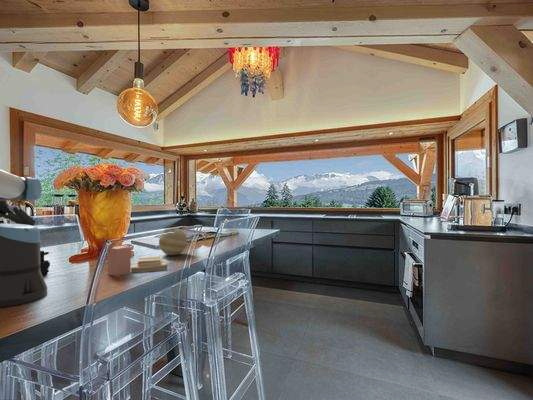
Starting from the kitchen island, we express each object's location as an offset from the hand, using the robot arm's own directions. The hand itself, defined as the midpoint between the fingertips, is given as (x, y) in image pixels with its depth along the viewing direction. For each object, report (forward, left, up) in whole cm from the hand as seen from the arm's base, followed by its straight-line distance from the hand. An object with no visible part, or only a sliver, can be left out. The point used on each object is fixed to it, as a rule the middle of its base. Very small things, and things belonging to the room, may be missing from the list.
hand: (6, 239), depth 108 cm
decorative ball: (+23, -63, -16) cm, 69 cm away
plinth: (-2, -51, -15) cm, 54 cm away
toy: (+1, -9, -16) cm, 18 cm away
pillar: (-8, -40, -15) cm, 43 cm away
